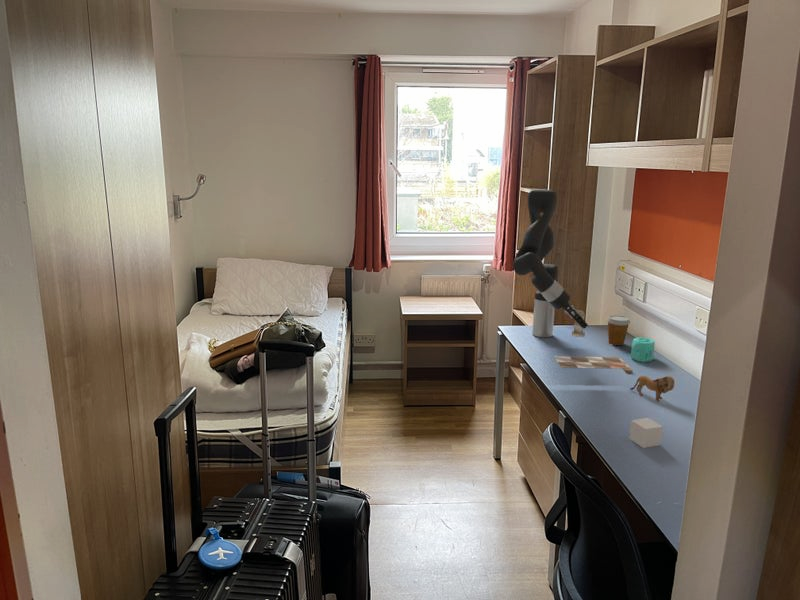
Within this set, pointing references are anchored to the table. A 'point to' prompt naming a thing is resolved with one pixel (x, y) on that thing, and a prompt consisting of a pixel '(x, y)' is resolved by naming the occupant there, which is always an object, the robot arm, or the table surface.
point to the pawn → (579, 326)
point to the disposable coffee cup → (617, 329)
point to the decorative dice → (642, 349)
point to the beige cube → (645, 432)
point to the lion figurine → (655, 385)
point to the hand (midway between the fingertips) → (584, 325)
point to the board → (593, 362)
